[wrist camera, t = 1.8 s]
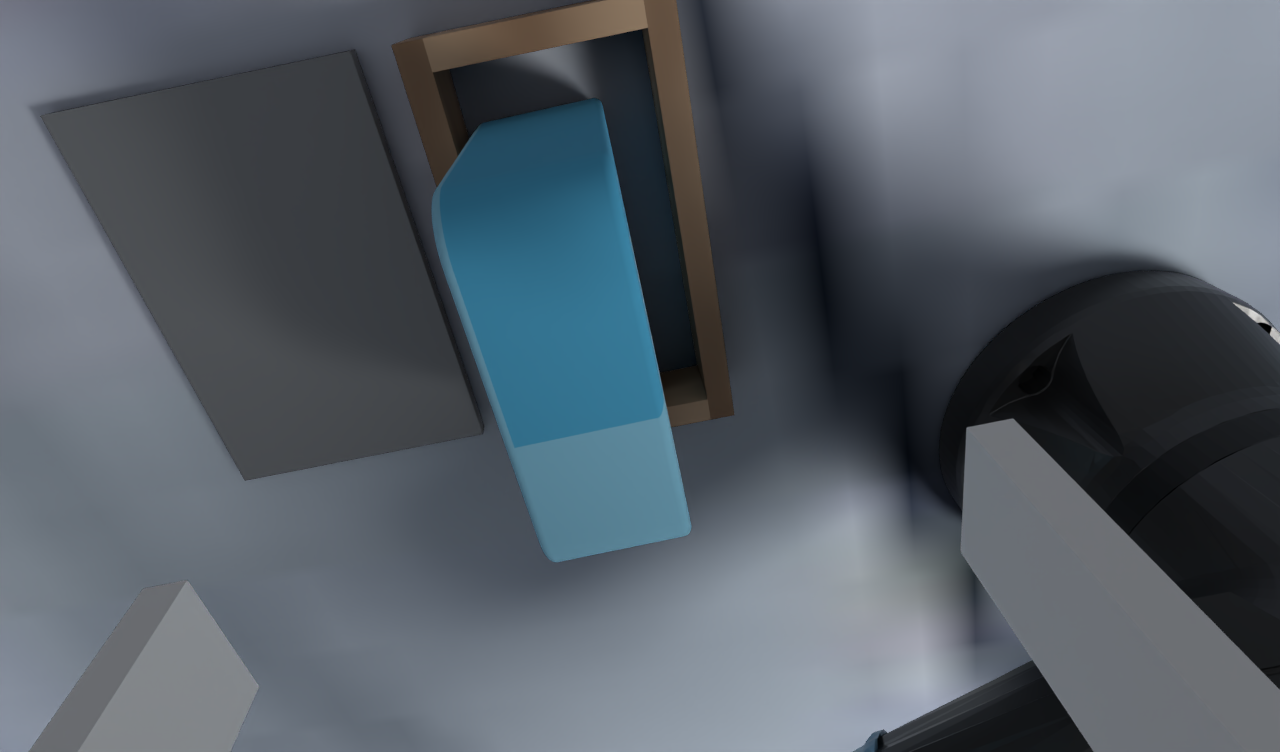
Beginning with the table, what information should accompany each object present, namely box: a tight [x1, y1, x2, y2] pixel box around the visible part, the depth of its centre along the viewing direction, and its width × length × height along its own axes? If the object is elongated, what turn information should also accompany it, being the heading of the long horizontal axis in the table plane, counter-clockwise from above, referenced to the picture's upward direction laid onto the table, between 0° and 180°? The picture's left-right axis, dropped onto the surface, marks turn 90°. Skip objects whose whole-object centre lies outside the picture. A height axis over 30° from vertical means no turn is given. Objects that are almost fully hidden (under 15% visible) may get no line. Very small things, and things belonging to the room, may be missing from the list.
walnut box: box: [391, 0, 734, 427], centre depth 28 cm, size 9×16×3 cm, turn 10°
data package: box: [431, 98, 691, 562], centre depth 24 cm, size 12×4×12 cm, turn 11°
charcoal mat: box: [41, 50, 484, 481], centre depth 29 cm, size 11×16×1 cm
